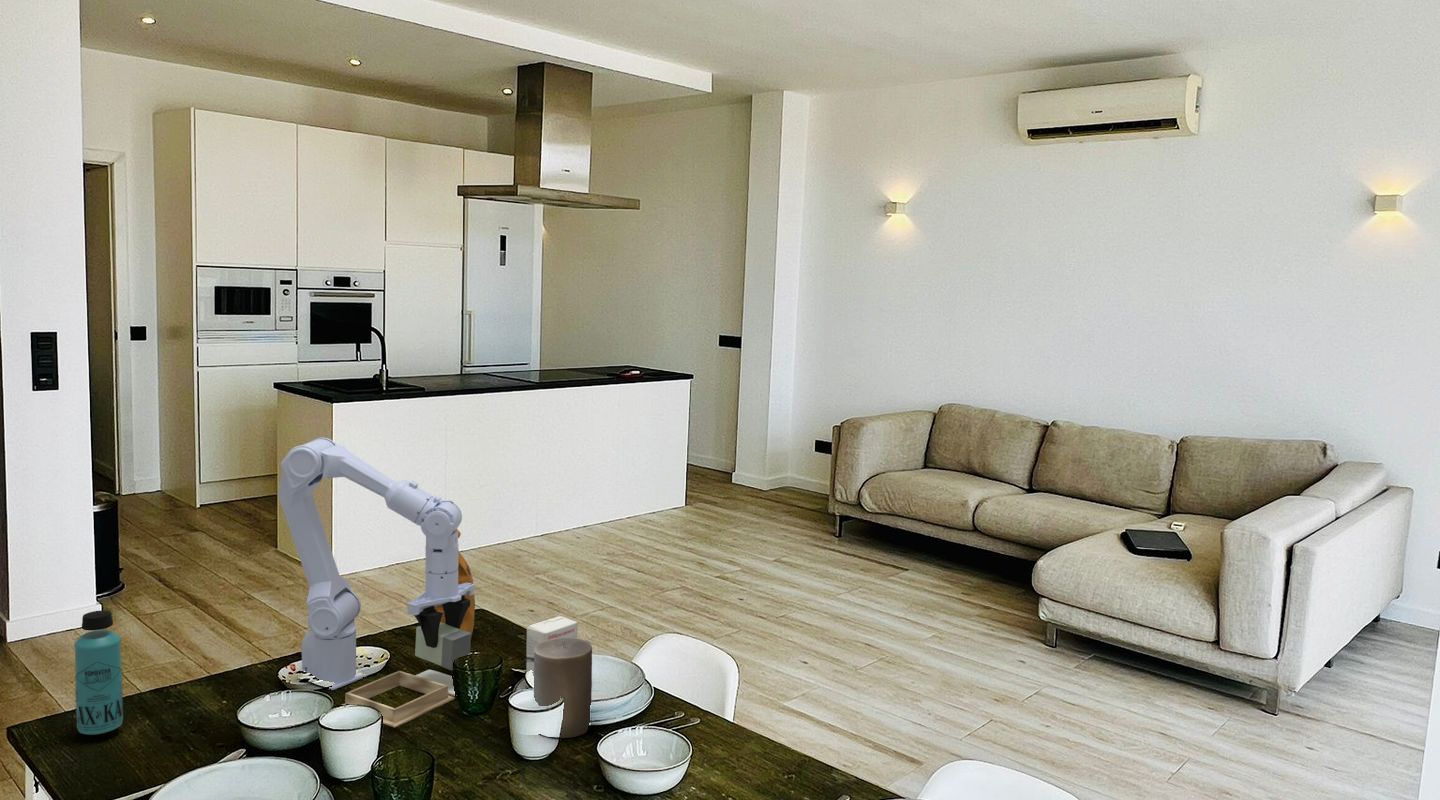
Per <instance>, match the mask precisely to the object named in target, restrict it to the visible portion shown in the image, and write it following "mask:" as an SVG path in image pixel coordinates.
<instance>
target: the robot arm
mask: <svg viewBox="0 0 1440 800" xmlns="http://www.w3.org/2000/svg"><path fill="white" fill-rule="evenodd" d="M280 467H281V470H282V471H281V476H280V481H279V487H278V491H277V494H278V499H279V502H280V505H281V508H282V510H283V514H284V516H285V519H286V522H287V525H288V529H289V532H290V535H291V537H292V540H293V543H294V545H295V548H296V552H297V554H298V557H299V560H300V563H301V566H302V570H303V572H304V574H305V577H306V580H307V581H306V582H307V584H308V588H309V589H308V594H307V597H306V606H307V610H308V616H307V625H308V628H309V630H308V631H307V632H306V633H305V635H304V636H303V639H302V642H301V671H302V670H303V671H305V672H307V673H310V674H312V675H313V676H315V677H316V678H317V679H319V680H323V681H329V682H334V683H335V684H333V685H331V686H332V687H329V689H328V690H330V689H331V690H330V691H334V690H338V689H339V688H342V687H345V686H346V685H349V684H352V683H354V682H357V681H359V680H362V679H364V678H366V677H367V676H368V673H367V674H365V675H361V676H356V677H355V675H356V670H357V626H356V622H355V619H356V618H357V617H358V616H359V615H360V612H361V607H362V604H361V600H360V598H359V597H358V595H357V594H356V593H355V592H354V591H353V590H352V588H351V586H350V583H349V581H348V580H347V579H345V577H342V576H341V575H340V572H339V569H338V566H337V564H336V561H335V560H336V559H335V558H334V555H333V551H332V548H331V546H330V543H329V539H328V537H327V533H326V530H325V528H324V524H323V523H322V519H321V516H320V513H319V510H318V507H317V504H316V500H315V498H314V493H315V491H316V489H318V486H319V484H320V483H321V482H322V480H323V479H330V478H331V479H333V478H334V479H335V478H345V479H347V480H349V481H352V483H355V484H357V485H359V486H361V487H363V488H364V489H367V490H369V491H370V492H372V493H374V494H376V495H379V496H380V497H383V499H384V501H385V505H386V507H387V509H390V510H391V511H393V512H395V513H396V514H398V515H400V516H402V517H403V518H404V519H406V520H408V521H410V522H412V523H413V524H415V525H417V526H420V529H421V531H422V533H423V535H424V536H425V569H424V570H425V592H424V593H423V594H421V595H420V596H417V597H416V598H415V599H414V600H413V599H412V600H411V601H409V602H407V615H411V616H414V617H415V619H416V620H417V622H418V624H419V626H420V627H421V629H422V632H423V635H424V639H425V643H426V646H428V647H432V648H436V647H437V644H438V632H439V625H440V621H441V618H442V615H443V613H441V612H438V611H436V609H435V606H438V605H441V604H442V606H443V610H444V614H445V624H447V625H449V626H452V627H455V628H457V629H460V627H461V623H462V620H463V618H464V615H465V613H466V611H467V609H468V608H469V606H470V600H469V599H465V596H466V595H473V594H474V595H475V584H474V583H473V584H471V583H463V584H459V585H458V550H459V538H458V531H459V529H458V528H459V526H460V524H461V523H462V521H463V514H462V511H461V509H460V507H459V506H458V505H457V504H455V502H454V501H453V500H449V499H443V500H442V497H440V496H439V495H436V496H434V495H431V494H430V493H428V492H427V491H426V490H424V489H421V487H418V486H419V483H418V482H417V481H415V480H411V481H408V480H407V479H403V480H400V481H395V480H393V479H392V478H390V477H389V476H387V475H386V474H385V473H383V472H381V471H379V470H378V469H376V468H375V467H373V466H372V465H370V464H369V463H367V462H366V461H364V460H363V459H361V458H360V457H358V456H357V455H355V454H354V453H352V452H351V451H350V450H349V449H348V448H347V447H346V446H344V445H342V444H339V443H338V444H337V442H335V441H333V440H332V439H331V438H327V437H318V438H315V439H312V440H311V441H309V442H306V443H304V444H301V445H297V446H294V447H292V448H291V449H290V450H288V452H287V453H286V456H284V458H283V459H282V461H281V462H280ZM456 529H458V530H456ZM455 530H456V531H455ZM453 531H454V532H453ZM366 675H367V676H366ZM363 677H364V678H363Z"/></svg>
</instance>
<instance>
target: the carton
mask: <svg viewBox="0 0 1440 800" xmlns="http://www.w3.org/2000/svg"><path fill="white" fill-rule="evenodd" d="M399 686H400V687H403V688H406V689H409V690H412V691H416V692H418V693H422V694H424V695H421V696H419V697H417V698H414V699H413V700H411V701H408V702H406V703H404V704H402V705H399V706H397V707H395V708H394V707H392V706H389V705H386V704H383V703H381V702H378V701H374V700H371V698H373V697H376V696H377V695H380V694H382V693H385V692H387V691H390V690H392V689H395V688H397V687H399ZM344 697H345V698H344V699H345V700H344V702H345V703H343V704H341V705H346V704H361V705H367V706H371V707H374V708H376V709H378V710H379V711H380V712H381V714H382V716H383V723H382V724H383V725H386V726H388V727H391V728H392V727H393V728H396V727H400V726H401V725H404V724H405V723H408V722H409V721H412V720H414V719H416V718H417V717H420V716H422V715H424V714H426V713H428V712H430V711H432V710H434V709H436V708H438V707H442V706H443V705H445V704H447V703H449V702H451V701H453V700H455V699H456V697H455V696H453V695H450V694H448V686H447V685H444V684H440V683H437V682H434V681H431V680H428V679H425V678H421V677H418V676H415V674H412V673H408V672H405V671H401V670H397V671H396V672H393V673H390V674H388V675H385V676H383V677H380V678H378V679H376V680H374V681H371V682H369V683H366V684H363V685H362V686H359V687H356V688H354V689H352V690H350V691H348V692H345V693H344Z"/></svg>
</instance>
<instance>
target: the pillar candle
mask: <svg viewBox="0 0 1440 800" xmlns="http://www.w3.org/2000/svg"><path fill="white" fill-rule="evenodd" d="M592 676H593V646H592V643H590V642H589V641H587V640H584V639H581V638H577V639H576V638H556V639H555V638H554V639H550V640H546V641H544V642H542V643H539V644H538V645H536V646H535V648H534V691H533V699H534V698H535V701H536V702H537V703H538V705H539V706H549V705H552V704H554V703H556V702H558V701H559V700H560V698H561V697H562V698H563V701H564V709H563V721H562V729H561V735H560V738H559V739H565V738H568V739H569V738H574V737H579V736H582V735H584V734H585V733H588V731H587V730H588V725H589V723H590V705H591V703H592V699H593V698H592V690H593V688H592V687H593V677H592ZM560 696H561V697H560Z"/></svg>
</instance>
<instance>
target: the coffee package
mask: <svg viewBox="0 0 1440 800" xmlns="http://www.w3.org/2000/svg"><path fill="white" fill-rule="evenodd" d="M456 530H458V539H459V538H460V537H461V536H462V533H461V531H459V529H458V528H457V529H456ZM456 530H455V531H456ZM453 532H454V531H453ZM463 583H471V584H474V578H473V574H472V572H471V569H470V566H469V564H468V562H467V561H466V559H465V558H464V556H463V555H462V554H461V553H460V550H459V549H458V585H459V584H463ZM465 599H469V600H470V606H469V608H468V609H467V611H466V613H465V615H464V618H463V620H462V623H461V627H460V630H464V631H467V632H469V633H471V637H472V636H473V631H474V627H475V614H476V613H475V611H476V602H475V601H476V600H475V593H474V594H473V595H466V596H465ZM435 609H436V611H438V612H441V613H443V615H442V618H441V621H440V622H441V623H444V624H445V614H444V610H443V606H442V604H441V605H438V606H435Z"/></svg>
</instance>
